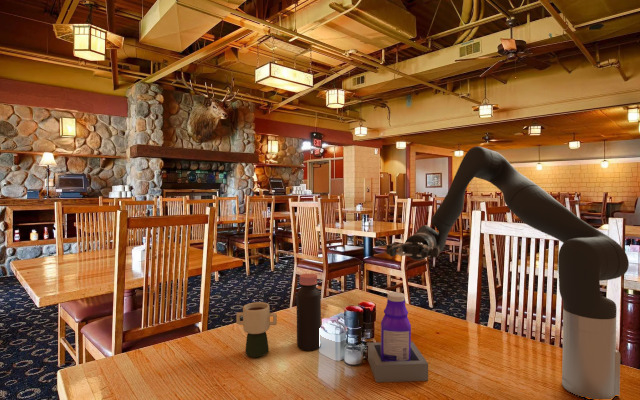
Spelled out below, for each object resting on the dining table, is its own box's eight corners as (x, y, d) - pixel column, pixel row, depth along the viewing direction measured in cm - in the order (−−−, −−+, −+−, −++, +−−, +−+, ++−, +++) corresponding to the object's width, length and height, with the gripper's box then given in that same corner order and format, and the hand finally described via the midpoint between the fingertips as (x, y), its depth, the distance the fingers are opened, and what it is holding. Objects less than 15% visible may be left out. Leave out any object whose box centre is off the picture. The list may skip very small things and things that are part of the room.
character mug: (279, 348, 101) (278, 302, 100) (274, 360, 94) (274, 310, 93) (240, 347, 102) (240, 301, 101) (233, 359, 95) (232, 310, 94)
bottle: (409, 359, 92) (409, 290, 91) (412, 370, 86) (412, 297, 86) (379, 358, 93) (379, 290, 92) (381, 369, 87) (381, 297, 86)
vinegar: (321, 351, 99) (320, 278, 98) (296, 351, 99) (295, 278, 98) (321, 340, 106) (320, 272, 105) (297, 341, 106) (296, 272, 105)
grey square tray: (412, 356, 96) (412, 341, 95) (428, 380, 84) (428, 363, 83) (367, 357, 95) (367, 342, 95) (376, 382, 83) (376, 365, 83)
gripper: (396, 232, 116) (381, 238, 101) (443, 234, 109) (433, 241, 95) (397, 256, 116) (381, 265, 102) (443, 259, 109) (434, 269, 95)
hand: (406, 253), depth 98 cm, fingers open, 8 cm apart
